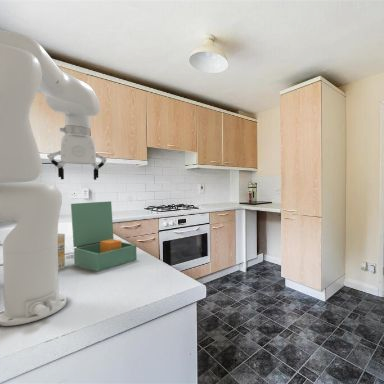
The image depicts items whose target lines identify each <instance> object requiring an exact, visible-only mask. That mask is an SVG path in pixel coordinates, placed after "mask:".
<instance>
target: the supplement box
mask: <svg viewBox="0 0 384 384" xmlns="http://www.w3.org/2000/svg"><path fill="white" fill-rule="evenodd" d="M65 238H66V235H65V233H58V270H61V269H64V268H65V267H66V239H65Z"/></svg>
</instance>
